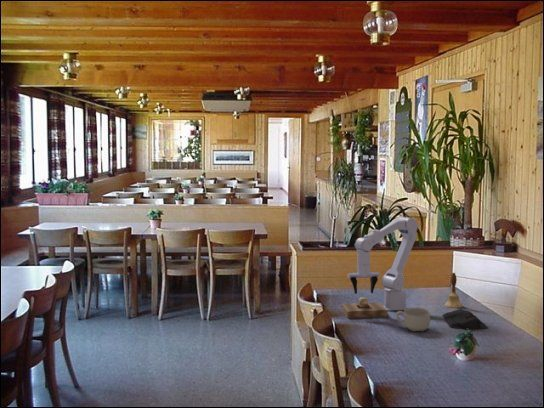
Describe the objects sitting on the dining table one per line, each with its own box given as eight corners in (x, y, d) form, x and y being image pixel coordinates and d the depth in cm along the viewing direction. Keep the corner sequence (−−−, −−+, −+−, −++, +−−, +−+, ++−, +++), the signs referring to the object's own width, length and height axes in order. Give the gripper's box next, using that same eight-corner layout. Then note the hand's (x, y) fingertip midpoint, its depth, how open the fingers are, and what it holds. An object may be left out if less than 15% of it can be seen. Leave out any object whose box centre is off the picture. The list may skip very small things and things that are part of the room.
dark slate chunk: (474, 316, 268) (474, 305, 268) (488, 330, 247) (488, 319, 246) (440, 315, 270) (440, 305, 269) (450, 330, 248) (450, 319, 247)
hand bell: (441, 305, 285) (441, 272, 284) (451, 302, 290) (452, 270, 289) (455, 309, 279) (456, 275, 277) (466, 306, 284) (466, 273, 282)
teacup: (432, 327, 251) (432, 309, 250) (427, 334, 241) (427, 315, 240) (399, 324, 257) (399, 305, 256) (393, 331, 247) (393, 312, 246)
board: (379, 308, 282) (379, 302, 282) (386, 316, 268) (386, 310, 268) (341, 309, 281) (341, 303, 281) (347, 318, 267) (347, 311, 267)
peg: (369, 312, 276) (369, 297, 275) (366, 314, 272) (366, 299, 271) (360, 311, 277) (360, 296, 277) (358, 313, 274) (358, 298, 273)
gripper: (377, 261, 277) (377, 290, 278) (346, 262, 276) (346, 291, 277) (380, 264, 270) (380, 294, 271) (349, 265, 269) (349, 295, 270)
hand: (363, 293), depth 274 cm, fingers open, 7 cm apart
